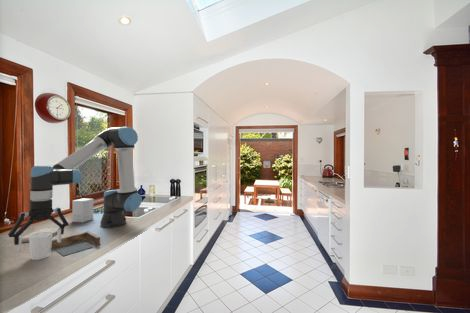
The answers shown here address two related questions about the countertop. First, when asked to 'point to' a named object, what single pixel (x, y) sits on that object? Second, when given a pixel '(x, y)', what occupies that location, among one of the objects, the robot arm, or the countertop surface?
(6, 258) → the countertop surface
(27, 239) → the washcloth
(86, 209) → the supplement box
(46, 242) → the white cup
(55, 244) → the corner walls
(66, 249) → the mat
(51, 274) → the countertop surface
